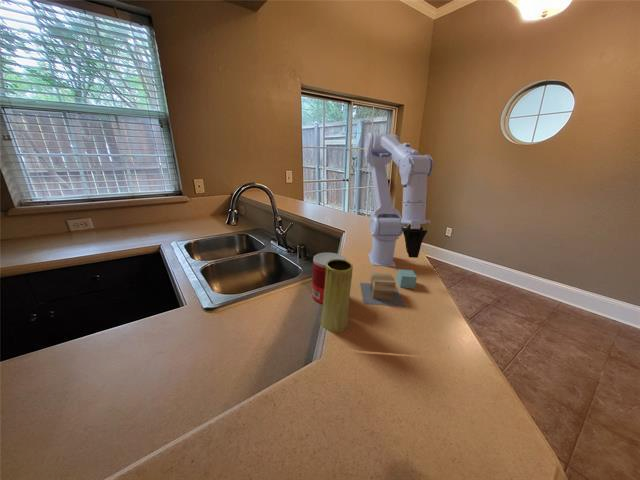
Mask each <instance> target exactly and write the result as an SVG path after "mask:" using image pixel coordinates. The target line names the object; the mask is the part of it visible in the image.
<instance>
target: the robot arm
mask: <svg viewBox="0 0 640 480" xmlns="http://www.w3.org/2000/svg"><path fill="white" fill-rule="evenodd" d="M363 145H364V147H363V150H364V156H365V161H366V163H368V164H369V165H370V166H369V167H370V172H371V173H370V174H371V179H372V187H373V192H374V198H375V199H374V201H375V206H376V209H375V210H374V211H373V212H372V213H371V215H370V216H369V233H370V234H371V236H372V241H371V249H370V252H368V253H367V255H368V259H369V262H370V265H371V266H379V267H380V266H381V267H395V268H396V267H397V265H396V262H395V261H394V256H395V255H394V254H395V249H396V245H397V244H396V243H397V240H399V238H400V237H401V236H402V235H404V242H405V249H406V253H407V255H408V256H407V257H408V258H415V259H417V258H419V254H420V251H421V246H422V243H423V240H424V238H425V237H426V234H427V233H428V230H427V229H424V227H423V226H421V225H422V224H423V225H424V224H430V223H431V220H430V219H426V212H427V194H428V193H427V192H428V191H427V190H428V178H429V177H430V176H431V175H432V172H433V168H434V159H433V158H432V157H431V155H430V154H423V155H422V154H420V153H419V151H418V149H414V148H413V147H412V145H411V143H410V142H404V143H401V142H400V141H399V137H398V135H396V134H395V133H393V134H389V133H374V132H368V133H367V134H366V136H365V139H364V144H363ZM391 162H392V163H394V164H395V165H396V166H397V167H398V170H399V171H398V172H399V176H400V180H401V181H400V183H401V185H402V186H403V187H402V213H401V211H399V210H398V209H396V208H394V206H393V203H392V197H391V190H390V186H389V179H388V175H387V173H388V172H387V168H386V165H389V164H390V163H391ZM405 225H407V227H405Z"/></svg>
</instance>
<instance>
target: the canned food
mask: <svg viewBox="0 0 640 480" xmlns="http://www.w3.org/2000/svg"><path fill="white" fill-rule="evenodd" d="M333 259H342V260H346V261H347V258H345V256H343V255H341V254H338V253H336V252H319V253H317V254H315V255H313V259H312V275H311V277H312V279H311V296H312V299H313V300H314V301H315V302H316V303H317V304H319V305H322V306H323V298H324V287H325V275H326V263H327V262H328V261H330V260H333Z"/></svg>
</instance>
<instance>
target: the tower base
mask: <svg viewBox="0 0 640 480" xmlns="http://www.w3.org/2000/svg"><path fill="white" fill-rule="evenodd" d="M370 283H371V284H370V290H371V294H372V298H373V299H386V300H393V295H394V291H380V290H374V289H373V285H372V282H371V281H370Z"/></svg>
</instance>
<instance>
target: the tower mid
mask: <svg viewBox="0 0 640 480" xmlns="http://www.w3.org/2000/svg"><path fill="white" fill-rule="evenodd" d="M370 278H371V279H370V283H371V282H372V285H373V289H374V290H380V291H394V289H395V285H396V282H397V281H395V278H394V276H393V274H392V272H383V271H382V272H381V271H372V272H371V277H370Z"/></svg>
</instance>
